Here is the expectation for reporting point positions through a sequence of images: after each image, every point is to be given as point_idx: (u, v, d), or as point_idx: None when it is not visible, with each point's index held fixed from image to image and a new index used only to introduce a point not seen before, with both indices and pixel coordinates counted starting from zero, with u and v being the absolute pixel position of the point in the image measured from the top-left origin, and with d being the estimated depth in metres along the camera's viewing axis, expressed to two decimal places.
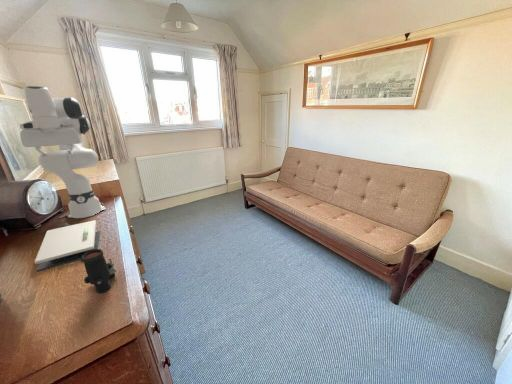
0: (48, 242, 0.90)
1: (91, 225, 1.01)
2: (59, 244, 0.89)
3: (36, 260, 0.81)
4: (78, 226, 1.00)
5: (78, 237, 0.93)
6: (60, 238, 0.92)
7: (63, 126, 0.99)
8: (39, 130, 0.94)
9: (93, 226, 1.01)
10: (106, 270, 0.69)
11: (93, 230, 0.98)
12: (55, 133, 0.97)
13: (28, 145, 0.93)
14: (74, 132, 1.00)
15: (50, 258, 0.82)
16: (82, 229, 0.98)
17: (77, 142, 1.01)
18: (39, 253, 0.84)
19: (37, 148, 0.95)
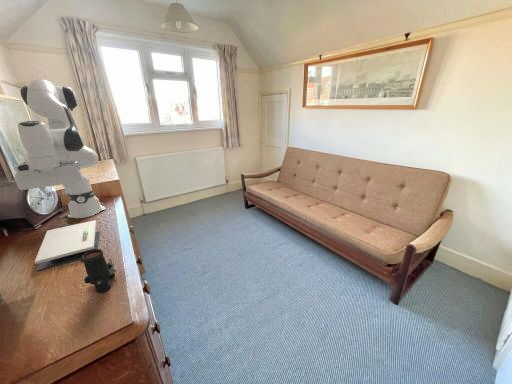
0: (48, 242, 0.90)
1: (91, 225, 1.01)
2: (59, 244, 0.89)
3: (36, 260, 0.81)
4: (78, 226, 1.00)
5: (78, 237, 0.93)
6: (60, 238, 0.92)
7: (63, 164, 0.89)
8: (36, 171, 0.84)
9: (93, 226, 1.01)
10: (106, 270, 0.69)
11: (93, 230, 0.98)
12: (54, 172, 0.87)
13: (24, 188, 0.83)
14: (75, 170, 0.90)
15: (50, 258, 0.82)
16: (82, 229, 0.98)
17: (79, 180, 0.92)
18: (39, 253, 0.84)
19: (41, 189, 0.87)
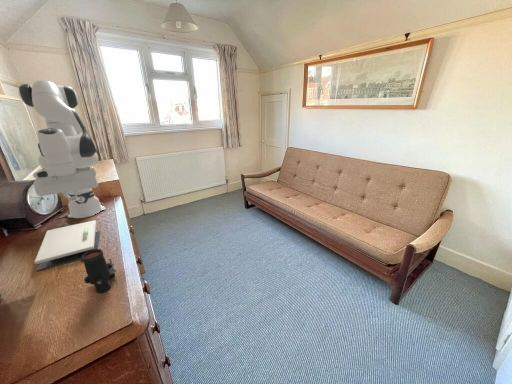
0: (48, 242, 0.90)
1: (91, 225, 1.01)
2: (59, 244, 0.89)
3: (36, 260, 0.81)
4: (78, 226, 1.00)
5: (78, 237, 0.93)
6: (60, 238, 0.92)
7: (79, 170, 0.90)
8: (54, 177, 0.86)
9: (93, 226, 1.01)
10: (106, 270, 0.69)
11: (93, 230, 0.98)
12: (71, 178, 0.89)
13: (42, 194, 0.85)
14: (91, 176, 0.92)
15: (50, 258, 0.82)
16: (82, 229, 0.98)
17: (94, 186, 0.94)
18: (39, 253, 0.84)
19: (64, 194, 0.89)
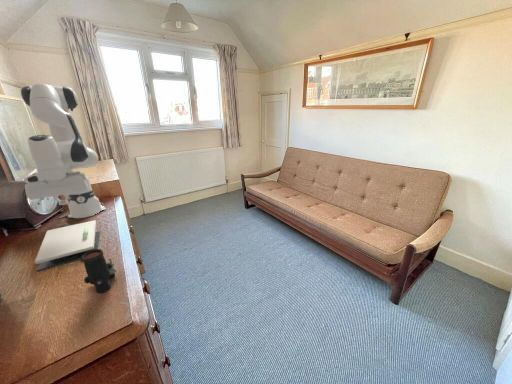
0: (48, 242, 0.90)
1: (91, 225, 1.01)
2: (59, 244, 0.89)
3: (36, 260, 0.81)
4: (78, 226, 1.00)
5: (78, 237, 0.93)
6: (60, 238, 0.92)
7: (69, 174, 0.94)
8: (44, 182, 0.89)
9: (93, 226, 1.01)
10: (106, 270, 0.69)
11: (93, 230, 0.98)
12: (61, 183, 0.93)
13: (33, 198, 0.89)
14: (80, 180, 0.96)
15: (50, 258, 0.82)
16: (82, 229, 0.98)
17: (84, 190, 0.97)
18: (39, 253, 0.84)
19: (55, 197, 0.93)
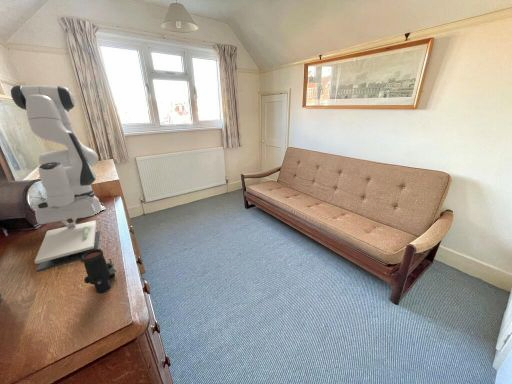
0: (48, 242, 0.90)
1: (91, 225, 1.01)
2: (59, 244, 0.89)
3: (36, 260, 0.81)
4: (78, 226, 1.00)
5: (78, 237, 0.93)
6: (60, 238, 0.92)
7: (77, 199, 0.98)
8: (54, 207, 0.93)
9: (93, 226, 1.01)
10: (106, 270, 0.69)
11: (93, 230, 0.98)
12: (69, 207, 0.96)
13: (43, 222, 0.93)
14: (88, 204, 0.99)
15: (50, 258, 0.82)
16: (82, 229, 0.98)
17: (91, 213, 1.01)
18: (39, 253, 0.84)
19: (63, 221, 0.97)
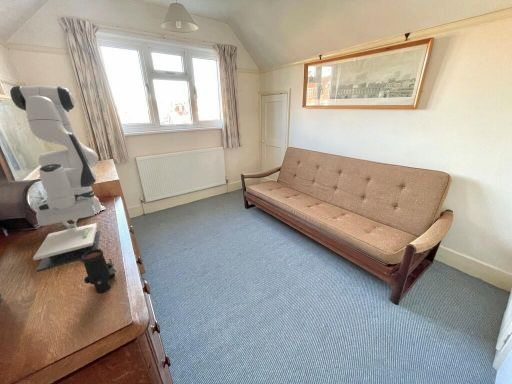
0: (48, 242, 0.90)
1: (92, 227, 1.02)
2: (59, 243, 0.89)
3: (34, 256, 0.80)
4: (79, 228, 1.01)
5: (78, 236, 0.93)
6: (60, 238, 0.92)
7: (78, 200, 0.98)
8: (54, 209, 0.93)
9: (94, 227, 1.01)
10: (106, 270, 0.69)
11: (93, 230, 0.98)
12: (70, 209, 0.97)
13: (44, 224, 0.93)
14: (88, 205, 1.00)
15: (48, 254, 0.82)
16: (83, 230, 0.99)
17: (92, 214, 1.02)
18: (38, 251, 0.84)
19: (64, 222, 0.97)
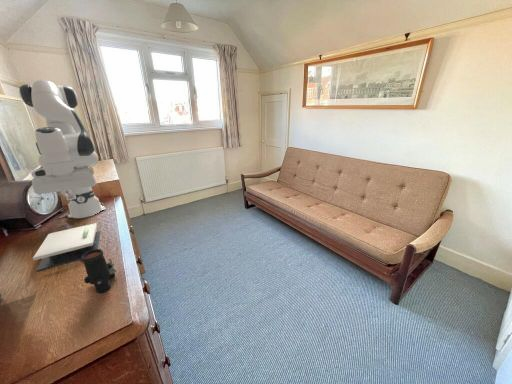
0: (48, 242, 0.90)
1: (92, 227, 1.02)
2: (59, 243, 0.89)
3: (34, 256, 0.80)
4: (79, 228, 1.01)
5: (78, 236, 0.93)
6: (60, 238, 0.92)
7: (77, 169, 0.91)
8: (52, 176, 0.86)
9: (94, 227, 1.01)
10: (106, 270, 0.69)
11: (93, 230, 0.98)
12: (69, 177, 0.89)
13: (40, 192, 0.86)
14: (89, 174, 0.92)
15: (48, 254, 0.82)
16: (83, 230, 0.99)
17: (92, 185, 0.94)
18: (38, 251, 0.84)
19: (62, 192, 0.90)
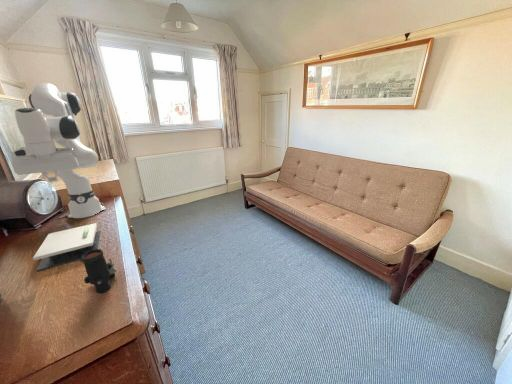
0: (48, 242, 0.90)
1: (92, 227, 1.02)
2: (59, 243, 0.89)
3: (34, 256, 0.80)
4: (79, 228, 1.01)
5: (78, 236, 0.93)
6: (60, 238, 0.92)
7: (59, 150, 0.91)
8: (33, 156, 0.86)
9: (94, 227, 1.01)
10: (106, 270, 0.69)
11: (93, 230, 0.98)
12: (50, 158, 0.90)
13: (21, 173, 0.86)
14: (70, 156, 0.93)
15: (48, 254, 0.82)
16: (83, 230, 0.99)
17: (74, 167, 0.94)
18: (38, 251, 0.84)
19: (44, 174, 0.90)
